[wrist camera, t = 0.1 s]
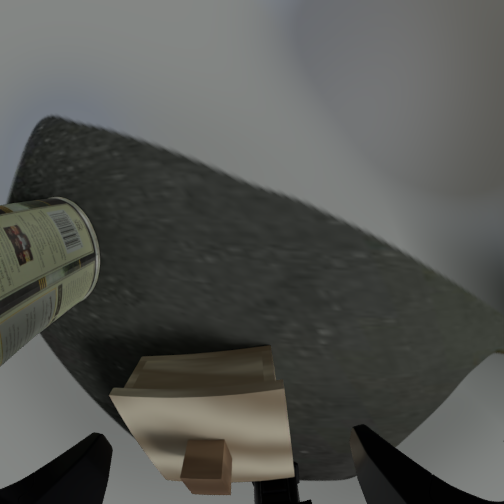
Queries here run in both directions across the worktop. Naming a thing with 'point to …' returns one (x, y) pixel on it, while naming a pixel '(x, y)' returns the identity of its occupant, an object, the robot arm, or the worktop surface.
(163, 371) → the box
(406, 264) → the worktop surface
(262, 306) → the worktop surface
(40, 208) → the coffee can
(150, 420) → the lid
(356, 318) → the worktop surface
